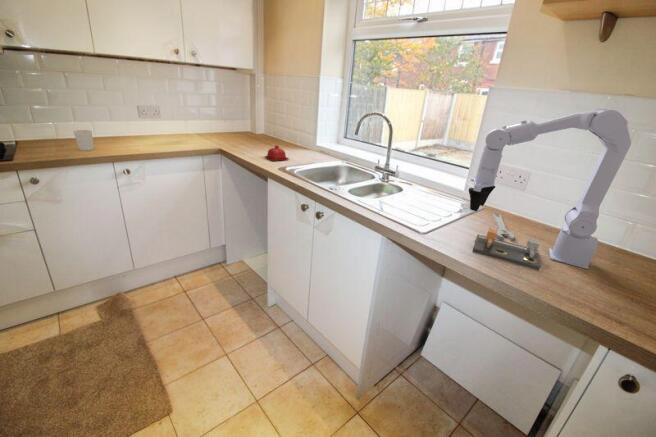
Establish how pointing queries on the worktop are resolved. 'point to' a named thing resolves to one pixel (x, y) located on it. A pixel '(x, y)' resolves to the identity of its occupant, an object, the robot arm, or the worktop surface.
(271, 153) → the butter dish
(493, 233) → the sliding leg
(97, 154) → the worktop surface
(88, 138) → the white cup
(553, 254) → the robot arm
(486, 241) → the hole plate
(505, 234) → the adjustable wrench
